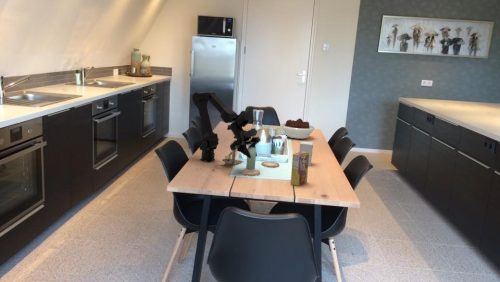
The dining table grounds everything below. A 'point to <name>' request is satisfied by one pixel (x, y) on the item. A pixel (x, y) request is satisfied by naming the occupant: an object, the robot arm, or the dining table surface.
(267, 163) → the dish
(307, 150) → the supplement box
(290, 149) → the dining table surface
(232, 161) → the balance
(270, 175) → the dining table surface
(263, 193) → the dining table surface
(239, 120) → the robot arm
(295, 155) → the candy box
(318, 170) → the dining table surface
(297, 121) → the bowl with brown lumps
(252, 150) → the grey green cylinder
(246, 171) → the dish
